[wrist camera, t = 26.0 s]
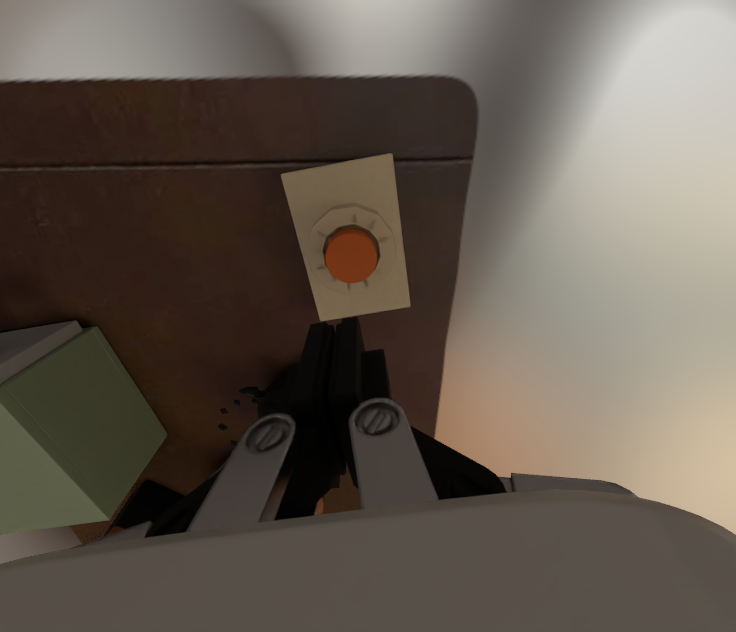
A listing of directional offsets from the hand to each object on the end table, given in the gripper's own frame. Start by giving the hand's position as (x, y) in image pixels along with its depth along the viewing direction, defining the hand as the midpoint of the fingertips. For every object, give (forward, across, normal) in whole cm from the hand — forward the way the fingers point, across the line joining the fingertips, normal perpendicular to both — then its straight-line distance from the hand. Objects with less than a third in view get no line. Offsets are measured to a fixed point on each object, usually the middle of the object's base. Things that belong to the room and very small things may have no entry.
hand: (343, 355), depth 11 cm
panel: (+17, 0, 0) cm, 17 cm away
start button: (+13, 0, 0) cm, 13 cm away
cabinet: (+17, +31, +11) cm, 37 cm away
